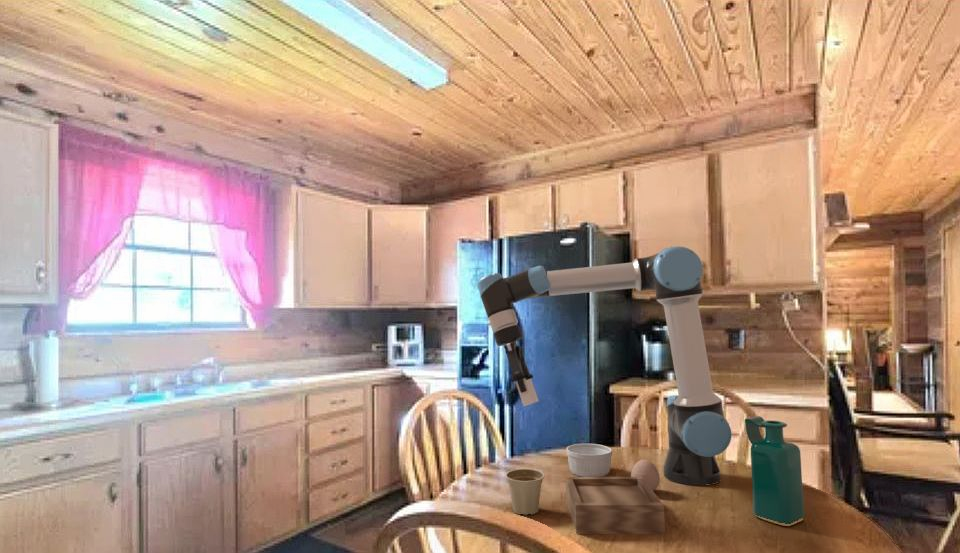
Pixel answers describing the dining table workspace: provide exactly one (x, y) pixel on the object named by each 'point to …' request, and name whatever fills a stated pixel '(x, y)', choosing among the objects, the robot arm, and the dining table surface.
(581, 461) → the ramekin
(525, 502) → the flower pot
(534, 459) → the dining table surface
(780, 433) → the teal bottle with handle
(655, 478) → the egg
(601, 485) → the walnut open box
